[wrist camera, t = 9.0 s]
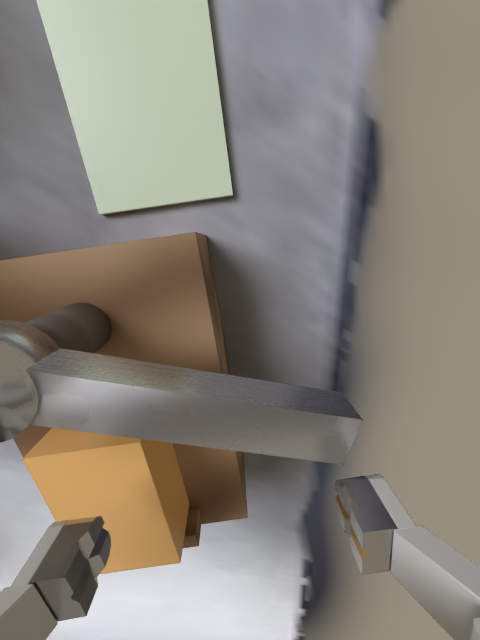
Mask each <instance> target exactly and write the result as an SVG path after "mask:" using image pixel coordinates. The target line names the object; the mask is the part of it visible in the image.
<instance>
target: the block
mask: <svg viewBox="0 0 480 640" xmlns="http://www.w3.org/2000/svg"><path fill="white" fill-rule="evenodd" d="M23 461H24V463H25V465H26V467H27V468H28V470H29V472H30V474H31V476H32V478H33V480H34V481H35V483H36V485H37V487H38V489H39V491H40V493H41V494H42V496H43V498H44V500H45V502H46V504H47V505H48V507H49V509H50V511H51V513H52V515H53V517H54V518H55V520H56V522H58V521H65V520H73V519H81V518H89V517H97V516H102V518H103V520H104V522H105V523H104V525H103V527H102V528H104V529H105V530H107V531H108V532H109V534H110V536H111V549H110V555H109V558H108V561H107V563H106V566H105V568H104V569H103V570H102V571H101V573H100V574H104V573H111V572H118V571H125V570H133V569H140V568H147V567H154V566H161V565H168V564H176V563H180V562H181V555H182V549H183V542H184V536H185V529H186V523H187V516H188V510H189V500H188V497H187V493H186V490H185V486H184V483H183V479H182V475H181V472H180V468H179V465H178V461H177V458H176V454H175V451H174V447H173V444H172V443H169V442H161V441H153V440H146V439H138V438H130V437H122V436H114V435H106V434H98V433H90V432H82V431H74V430H67V429H59V428H51V429H50V430H49V432H48V433H47V434H46V435H45V436H44V437H43V438H42V439H41V440H40V441H39V442H38V443H37V444H36V445H35V446H34V447H33V448H32V449H31V450H30V451H29V452H28V453H27V454H26V456H25V457H24V458H23Z"/></svg>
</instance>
